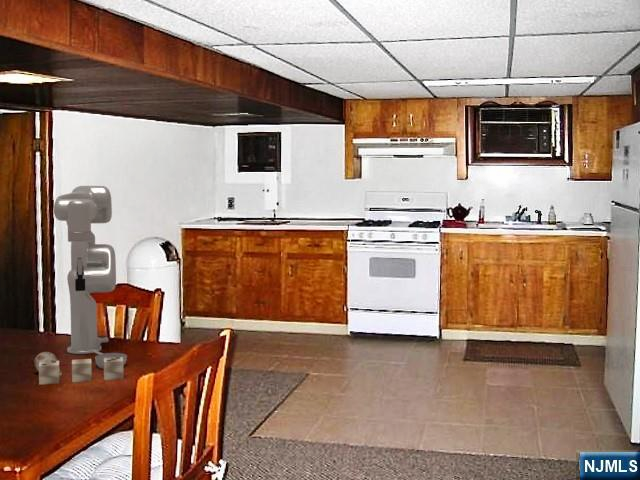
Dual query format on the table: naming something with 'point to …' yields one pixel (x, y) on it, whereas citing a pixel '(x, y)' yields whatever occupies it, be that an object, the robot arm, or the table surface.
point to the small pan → (100, 358)
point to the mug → (45, 359)
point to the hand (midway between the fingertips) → (80, 290)
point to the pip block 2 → (113, 368)
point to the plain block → (81, 370)
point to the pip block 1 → (49, 372)
